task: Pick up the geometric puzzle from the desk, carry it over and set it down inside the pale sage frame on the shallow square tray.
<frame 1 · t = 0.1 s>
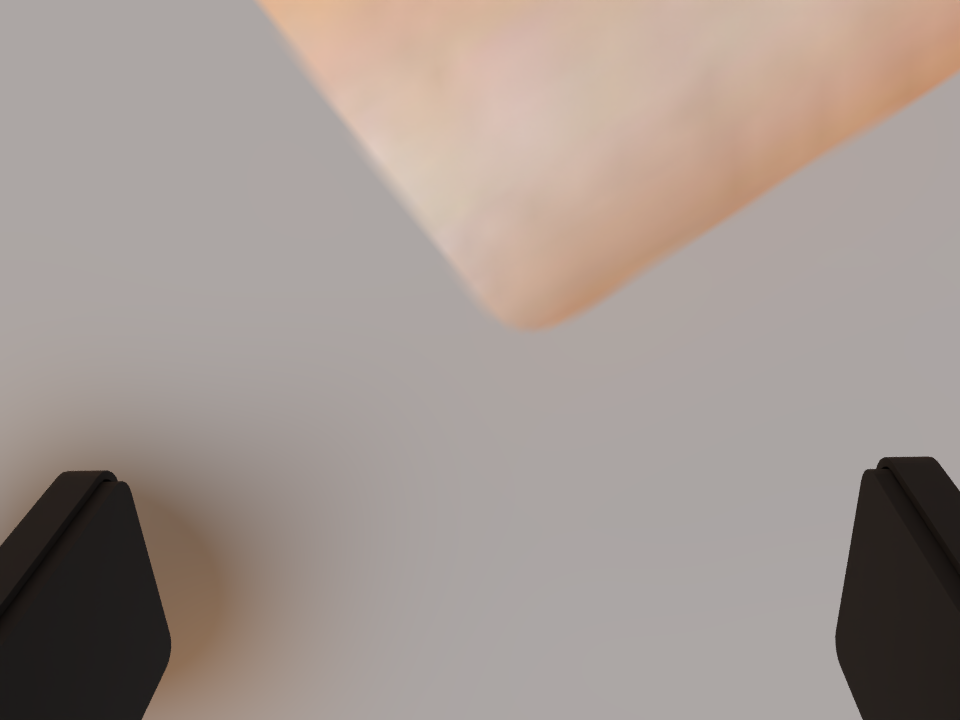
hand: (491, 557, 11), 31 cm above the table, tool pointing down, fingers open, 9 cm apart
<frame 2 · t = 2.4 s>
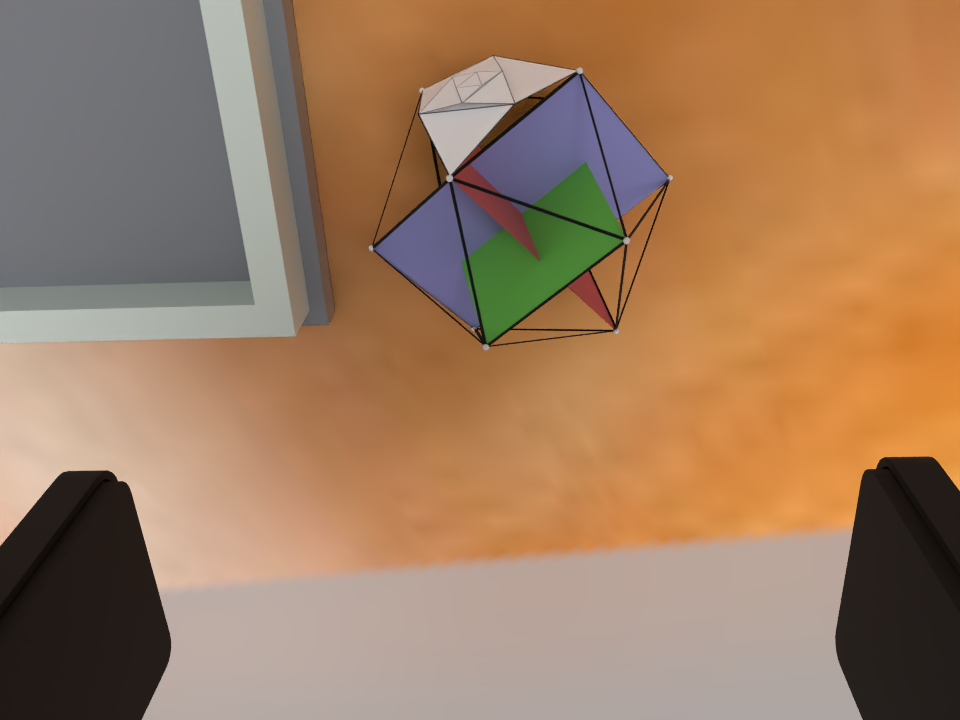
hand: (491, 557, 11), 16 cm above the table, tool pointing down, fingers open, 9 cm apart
geometric puzzle: (523, 176, 26), on the table
shallow square tray: (19, 74, 25), on the table
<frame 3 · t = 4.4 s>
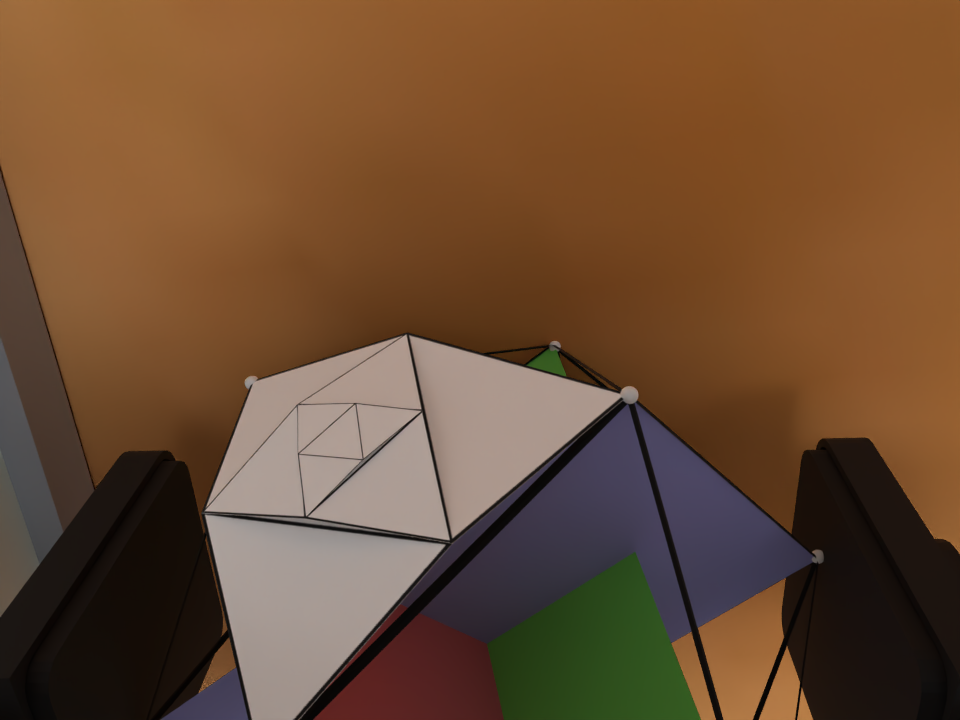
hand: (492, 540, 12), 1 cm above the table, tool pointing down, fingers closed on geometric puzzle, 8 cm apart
geometric puzzle: (496, 474, 13), on the table, touching gripper
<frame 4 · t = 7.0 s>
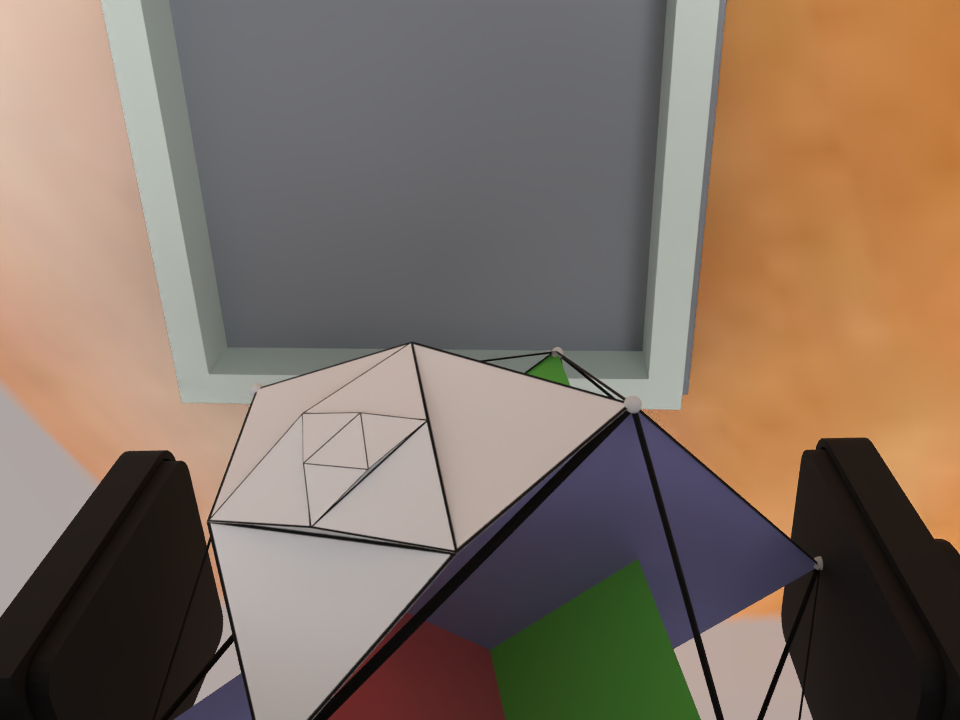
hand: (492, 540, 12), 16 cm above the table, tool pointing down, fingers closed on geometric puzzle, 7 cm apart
geometric puzzle: (499, 480, 13), point 15 cm above the table, touching gripper
shallow square tray: (426, 149, 26), on the table
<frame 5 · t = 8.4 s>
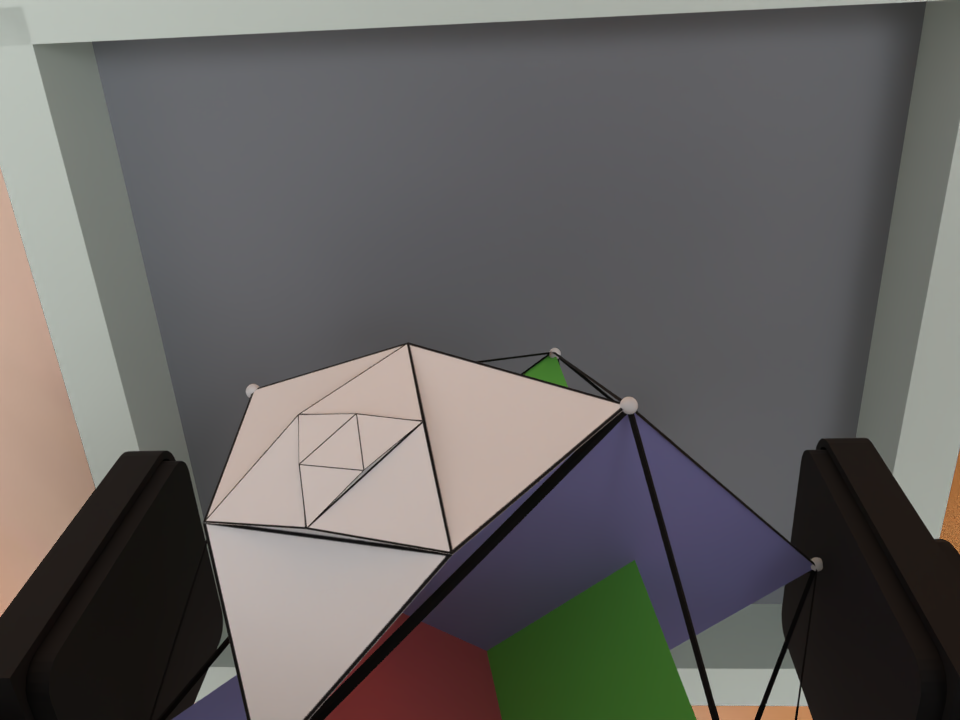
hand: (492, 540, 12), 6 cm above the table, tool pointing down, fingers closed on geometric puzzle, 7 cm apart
geometric puzzle: (496, 480, 13), point 5 cm above the table, touching gripper
shallow square tray: (510, 332, 17), on the table
when the fingers open (3 cm above the table, at t = 9.7 s): geometric puzzle stays where it is, resting on shallow square tray.
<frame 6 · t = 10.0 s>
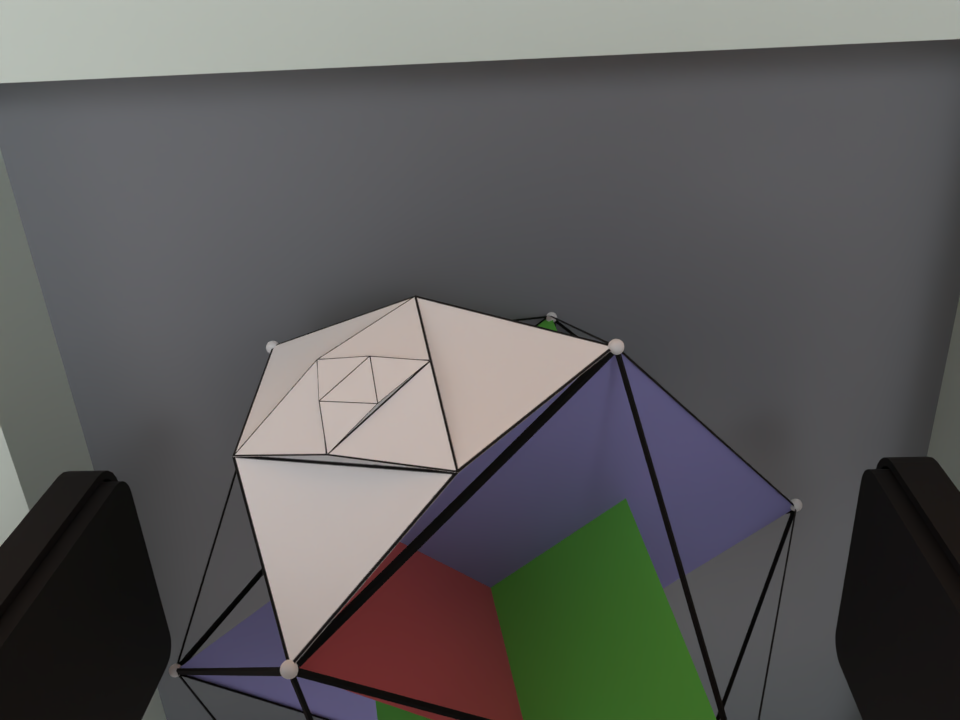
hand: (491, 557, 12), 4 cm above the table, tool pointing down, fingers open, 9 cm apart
geometric puzzle: (498, 440, 14), point 1 cm above the table, touching shallow square tray
shallow square tray: (498, 415, 15), on the table
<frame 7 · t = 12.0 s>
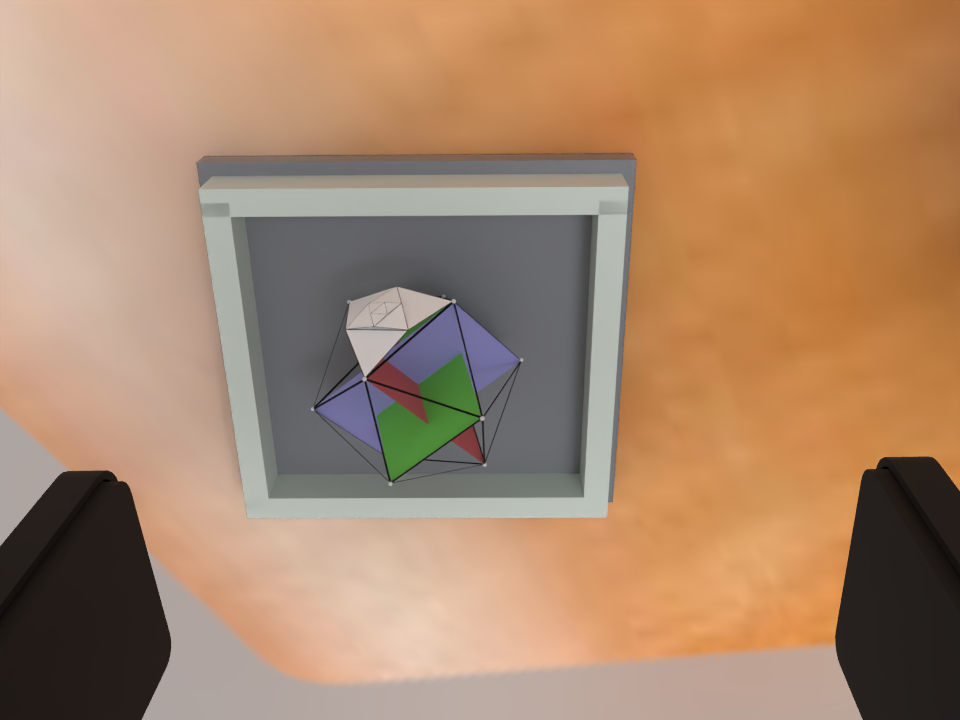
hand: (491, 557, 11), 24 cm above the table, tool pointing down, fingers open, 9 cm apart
geometric puzzle: (424, 345, 36), point 1 cm above the table, touching shallow square tray
shallow square tray: (425, 337, 37), on the table
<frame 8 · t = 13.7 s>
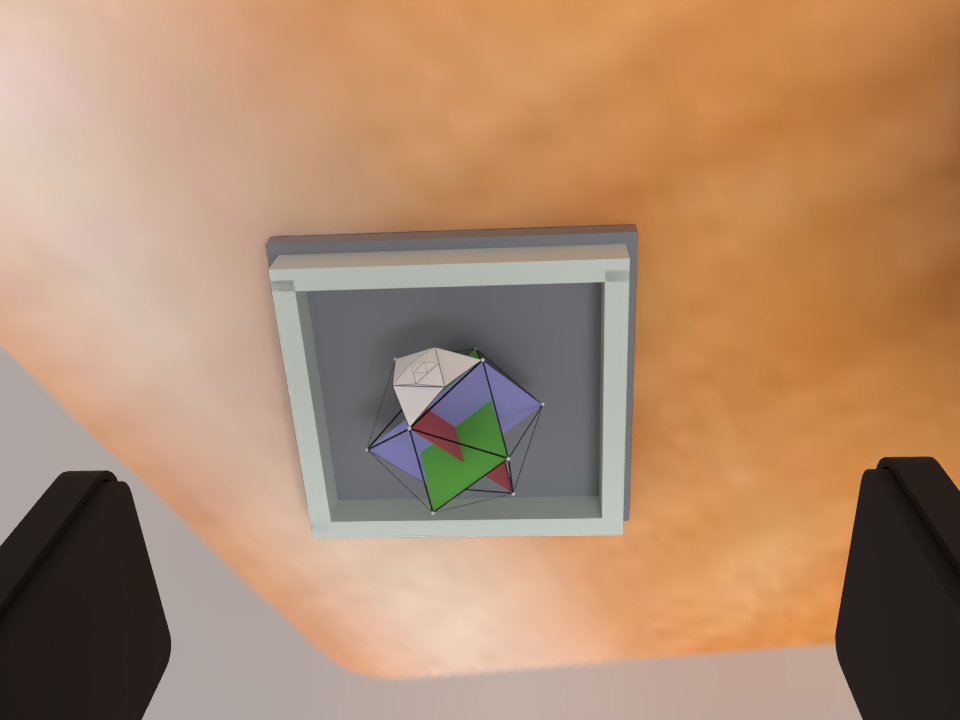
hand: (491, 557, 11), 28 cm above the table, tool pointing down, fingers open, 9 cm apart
geometric puzzle: (460, 389, 42), point 1 cm above the table, touching shallow square tray
shallow square tray: (461, 381, 43), on the table
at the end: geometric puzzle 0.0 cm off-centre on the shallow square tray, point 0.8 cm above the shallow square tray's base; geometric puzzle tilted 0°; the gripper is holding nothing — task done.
